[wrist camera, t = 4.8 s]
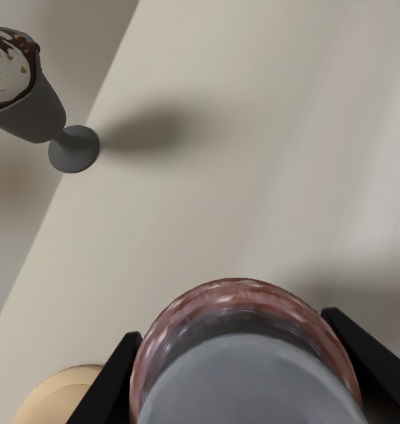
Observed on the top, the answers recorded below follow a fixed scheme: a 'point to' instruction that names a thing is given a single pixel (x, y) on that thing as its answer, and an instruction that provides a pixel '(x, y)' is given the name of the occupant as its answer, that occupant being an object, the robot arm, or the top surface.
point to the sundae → (38, 106)
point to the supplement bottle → (242, 361)
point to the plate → (57, 396)
